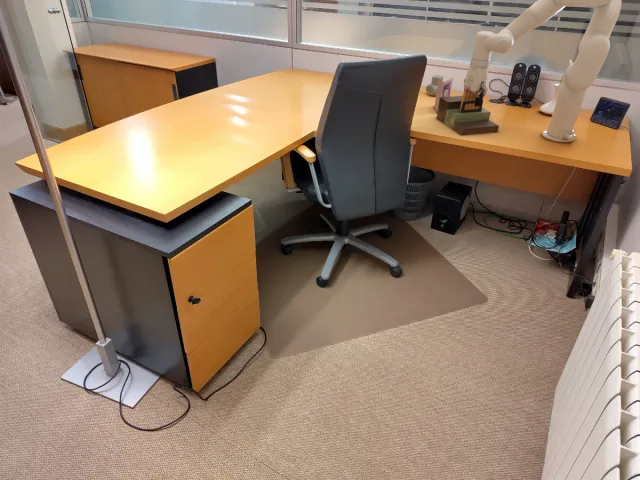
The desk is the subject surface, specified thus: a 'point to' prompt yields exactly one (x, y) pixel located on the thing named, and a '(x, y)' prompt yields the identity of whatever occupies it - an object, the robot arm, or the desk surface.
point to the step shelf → (464, 117)
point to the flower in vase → (550, 106)
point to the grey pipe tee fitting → (433, 85)
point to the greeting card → (442, 91)
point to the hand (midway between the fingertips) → (471, 103)
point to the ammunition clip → (469, 102)
